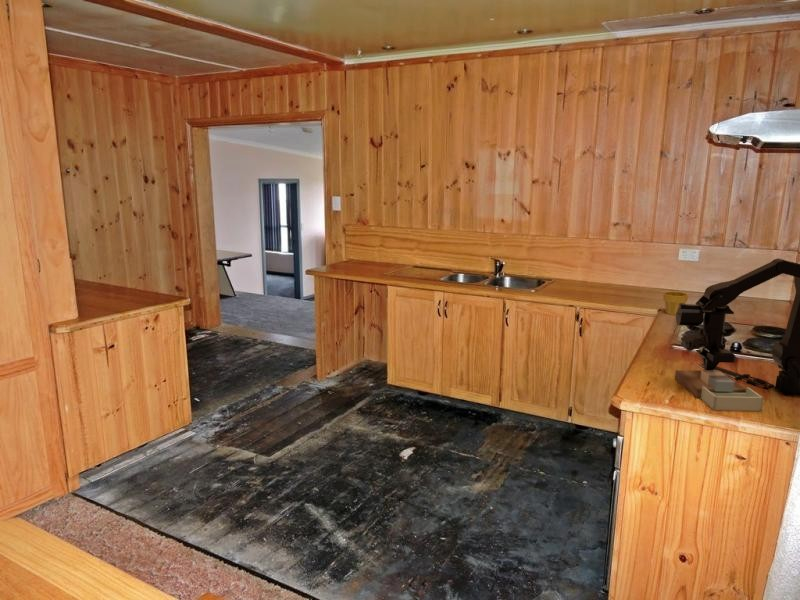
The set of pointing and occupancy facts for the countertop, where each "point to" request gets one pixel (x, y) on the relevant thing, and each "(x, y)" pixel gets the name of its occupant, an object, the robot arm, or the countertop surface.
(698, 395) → the board
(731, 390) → the grey block
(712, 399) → the tray
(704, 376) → the cream block
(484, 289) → the countertop surface
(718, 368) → the knife
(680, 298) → the plant pot
